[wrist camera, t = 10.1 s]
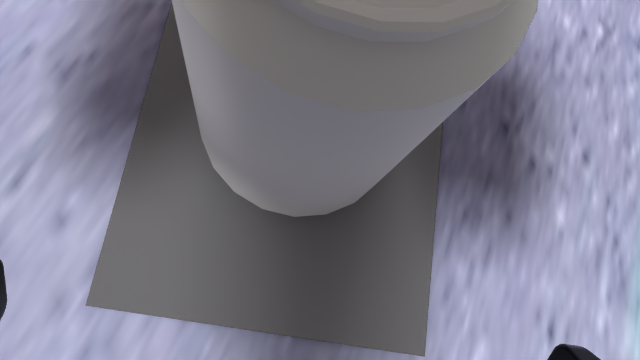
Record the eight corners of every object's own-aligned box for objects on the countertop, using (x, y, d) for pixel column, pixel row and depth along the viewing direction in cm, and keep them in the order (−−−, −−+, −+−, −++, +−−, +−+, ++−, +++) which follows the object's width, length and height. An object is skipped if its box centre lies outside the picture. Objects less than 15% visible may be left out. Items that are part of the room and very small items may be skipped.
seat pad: (420, 355, 18) (424, 356, 17) (89, 305, 16) (85, 305, 16) (446, 34, 22) (450, 29, 21) (182, -28, 20) (181, -34, 20)
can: (159, 133, 18) (18, -181, 6) (286, 13, 20) (349, -377, 9) (310, 262, 17) (445, 170, 6) (423, 124, 20) (673, -130, 8)
